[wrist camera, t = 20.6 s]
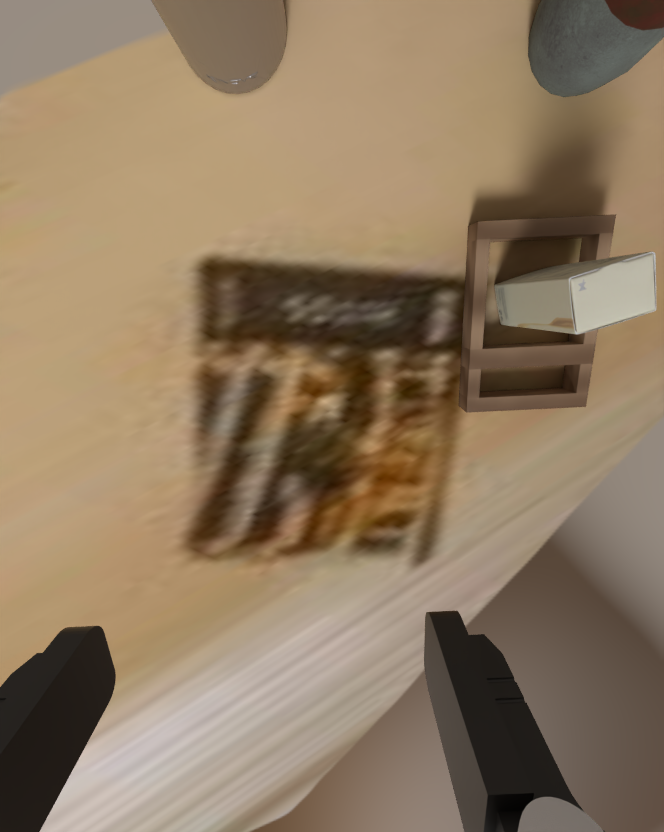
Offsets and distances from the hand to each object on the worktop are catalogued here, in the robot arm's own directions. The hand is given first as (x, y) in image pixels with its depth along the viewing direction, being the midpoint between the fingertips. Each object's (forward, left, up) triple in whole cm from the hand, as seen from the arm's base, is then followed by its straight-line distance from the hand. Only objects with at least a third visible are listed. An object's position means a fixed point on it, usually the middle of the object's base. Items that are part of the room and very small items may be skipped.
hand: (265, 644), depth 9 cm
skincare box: (-7, +22, -33) cm, 41 cm away
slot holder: (-5, +22, -33) cm, 40 cm away
